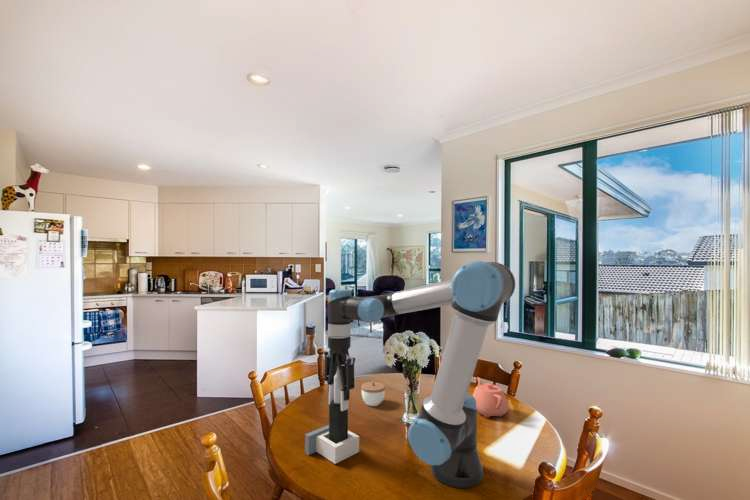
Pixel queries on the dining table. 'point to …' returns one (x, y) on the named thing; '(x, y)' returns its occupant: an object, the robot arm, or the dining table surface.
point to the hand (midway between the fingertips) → (338, 406)
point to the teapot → (490, 400)
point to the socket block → (337, 447)
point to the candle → (337, 414)
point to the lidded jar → (373, 393)
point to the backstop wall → (313, 439)
